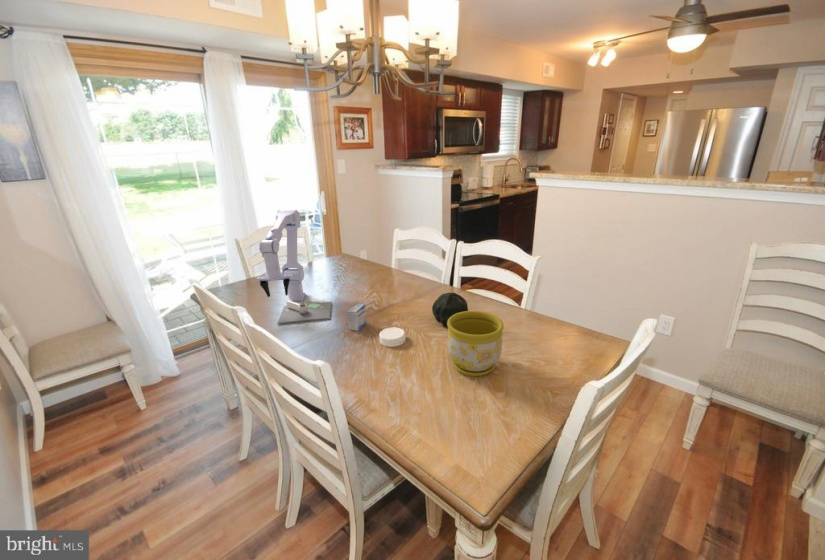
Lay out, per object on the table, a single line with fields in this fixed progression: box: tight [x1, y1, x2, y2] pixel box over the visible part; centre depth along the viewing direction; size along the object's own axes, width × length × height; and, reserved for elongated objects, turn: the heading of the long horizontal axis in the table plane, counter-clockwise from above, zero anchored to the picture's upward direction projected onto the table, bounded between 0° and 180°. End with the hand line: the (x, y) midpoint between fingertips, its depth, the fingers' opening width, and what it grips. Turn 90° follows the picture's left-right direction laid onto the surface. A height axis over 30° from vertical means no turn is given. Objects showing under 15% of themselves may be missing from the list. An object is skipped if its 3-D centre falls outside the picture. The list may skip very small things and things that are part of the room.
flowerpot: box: [446, 310, 505, 377], centre depth 120 cm, size 18×18×16 cm
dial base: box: [277, 301, 332, 325], centre depth 165 cm, size 18×22×1 cm
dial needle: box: [285, 300, 308, 314], centre depth 166 cm, size 13×4×4 cm, turn 55°
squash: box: [431, 292, 469, 325], centre depth 151 cm, size 14×15×15 cm
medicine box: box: [346, 303, 367, 332], centre depth 151 cm, size 8×4×9 cm, turn 161°
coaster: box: [378, 326, 406, 348], centre depth 139 cm, size 10×10×4 cm
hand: (277, 295), depth 162 cm, fingers open, 7 cm apart
